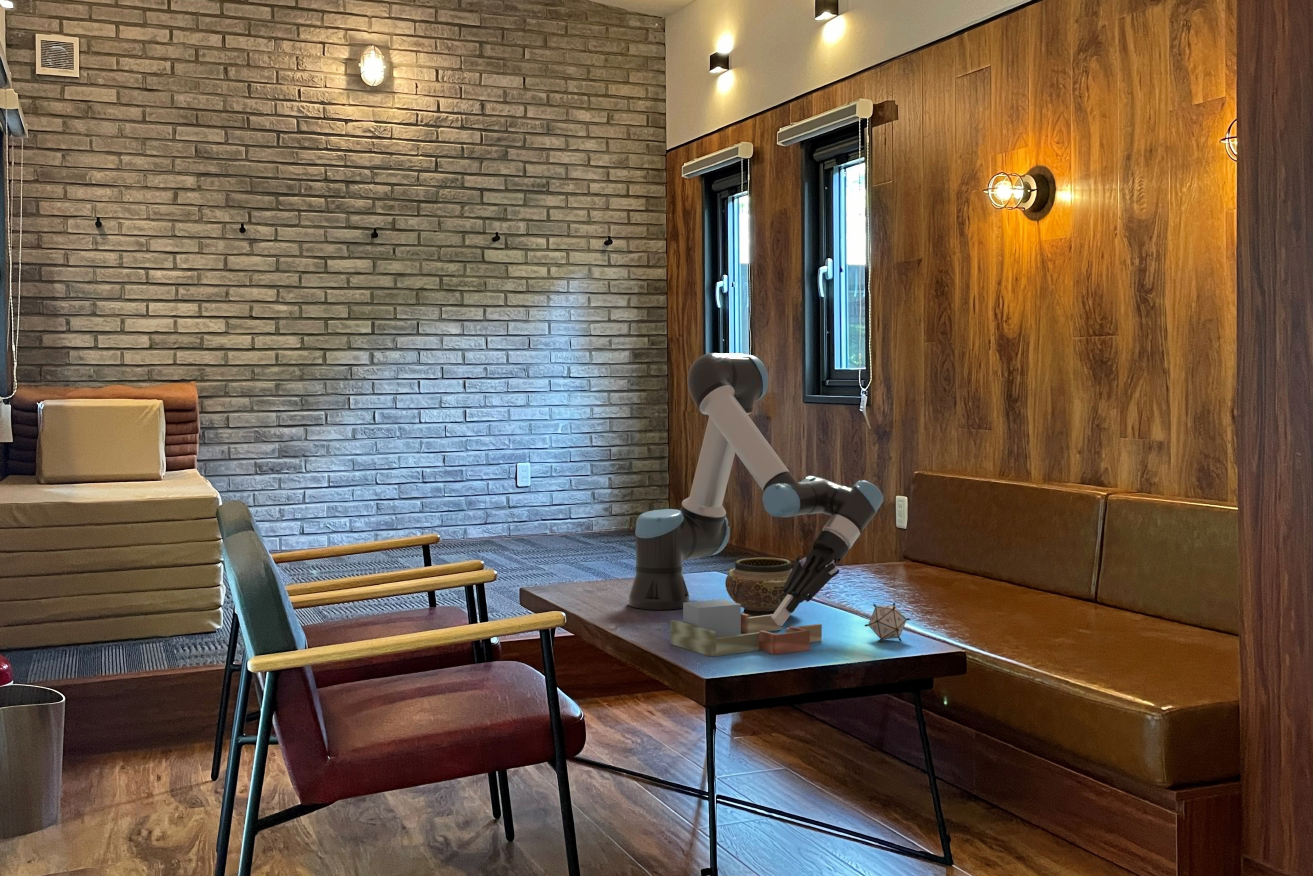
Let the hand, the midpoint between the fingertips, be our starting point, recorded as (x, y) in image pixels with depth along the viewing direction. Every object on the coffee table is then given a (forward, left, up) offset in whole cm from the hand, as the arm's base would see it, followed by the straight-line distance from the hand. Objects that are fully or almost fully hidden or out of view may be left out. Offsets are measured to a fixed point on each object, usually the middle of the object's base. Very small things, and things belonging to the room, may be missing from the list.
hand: (776, 621), depth 264 cm
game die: (+15, +18, -4) cm, 24 cm away
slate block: (-1, -16, -4) cm, 17 cm away
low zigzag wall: (0, -8, -4) cm, 8 cm away
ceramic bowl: (-23, +14, -4) cm, 27 cm away
